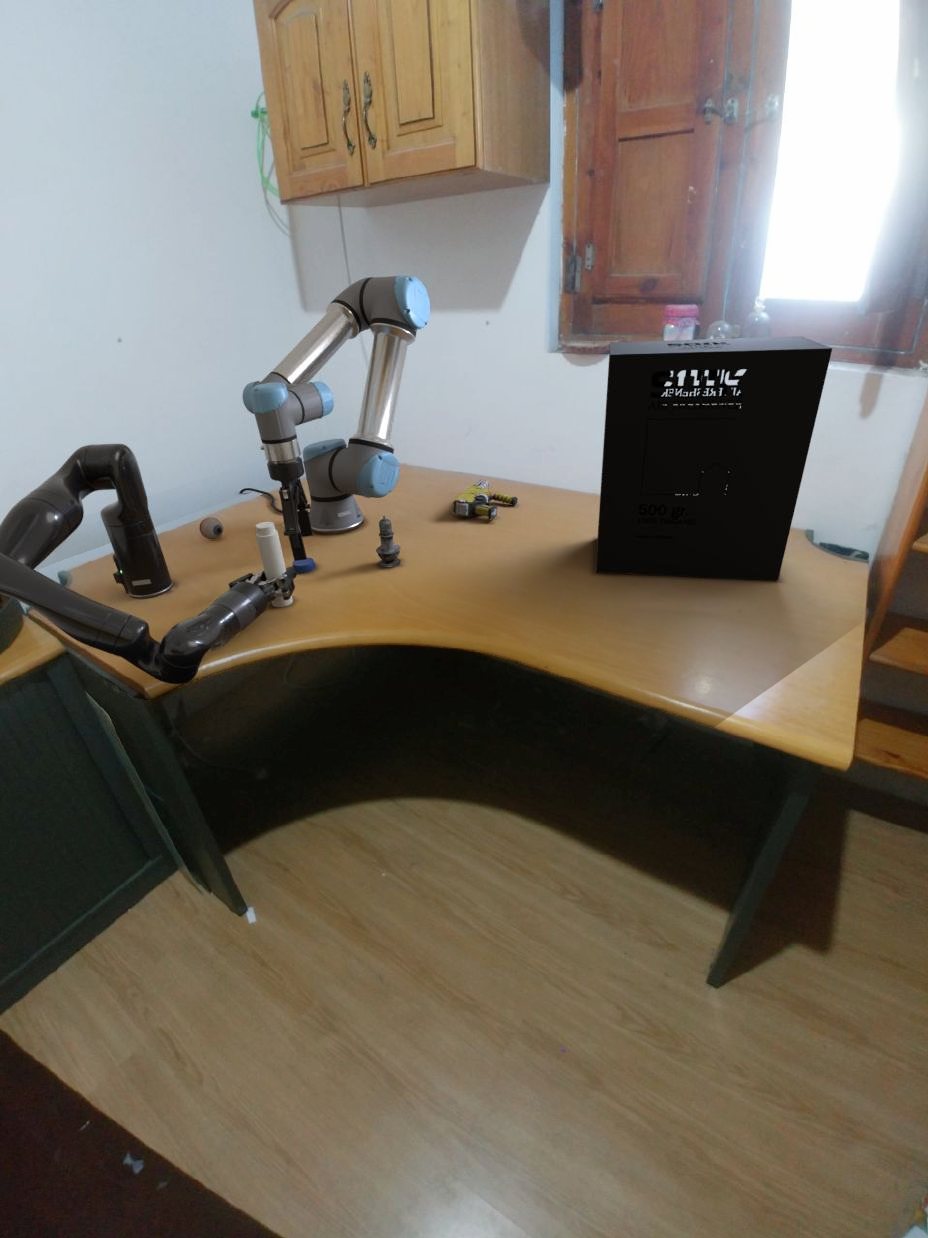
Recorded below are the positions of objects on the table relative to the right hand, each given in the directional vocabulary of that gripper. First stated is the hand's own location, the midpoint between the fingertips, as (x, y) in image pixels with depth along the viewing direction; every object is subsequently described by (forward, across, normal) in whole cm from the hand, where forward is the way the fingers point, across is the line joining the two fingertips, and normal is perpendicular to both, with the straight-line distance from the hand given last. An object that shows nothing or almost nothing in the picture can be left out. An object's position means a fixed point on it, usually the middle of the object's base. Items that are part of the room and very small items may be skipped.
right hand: (304, 547), depth 143 cm
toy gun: (+7, -31, +49) cm, 58 cm away
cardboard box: (+7, +14, +87) cm, 88 cm away
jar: (+5, +18, -4) cm, 19 cm away
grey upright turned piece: (+6, +2, +20) cm, 21 cm away
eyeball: (+5, -24, -28) cm, 37 cm away
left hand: (-2, +15, -2) cm, 15 cm away
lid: (+3, +1, -1) cm, 4 cm away
